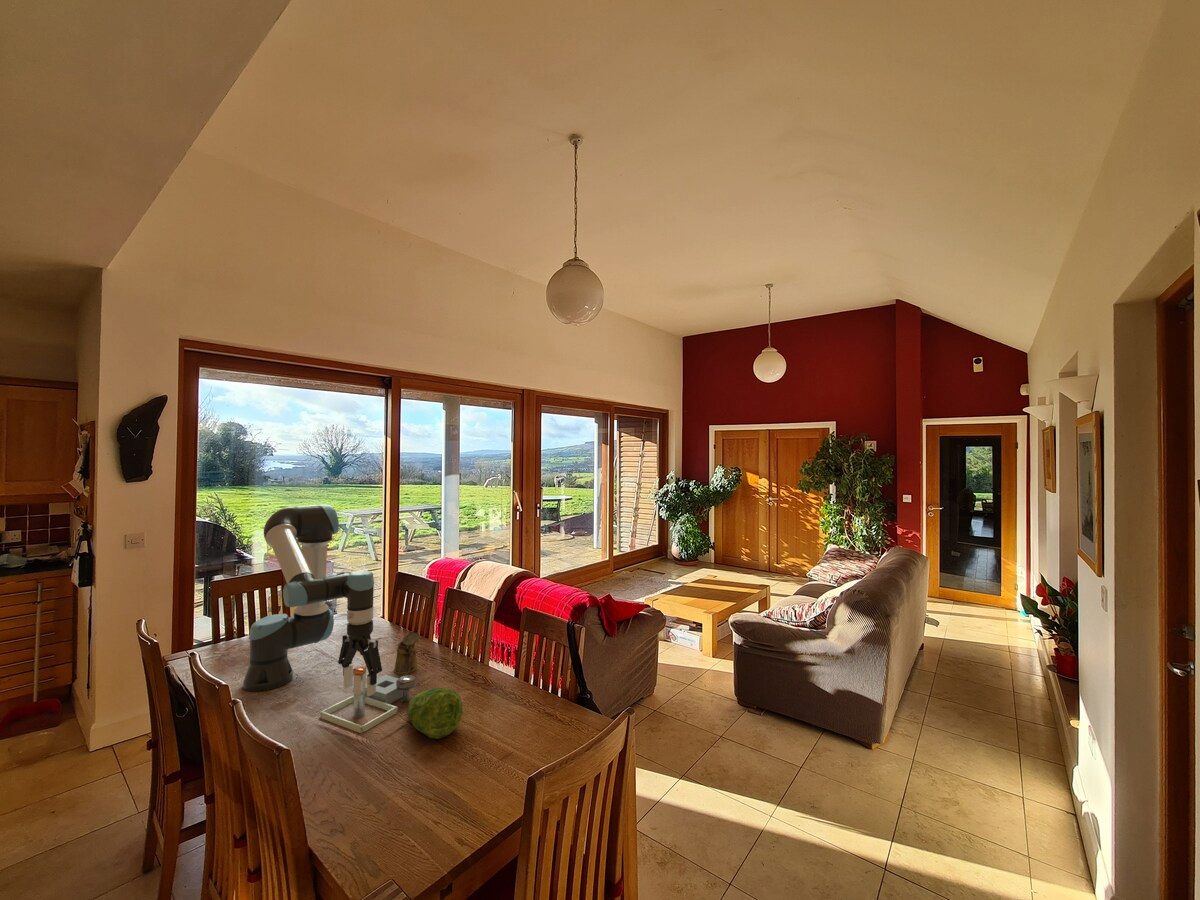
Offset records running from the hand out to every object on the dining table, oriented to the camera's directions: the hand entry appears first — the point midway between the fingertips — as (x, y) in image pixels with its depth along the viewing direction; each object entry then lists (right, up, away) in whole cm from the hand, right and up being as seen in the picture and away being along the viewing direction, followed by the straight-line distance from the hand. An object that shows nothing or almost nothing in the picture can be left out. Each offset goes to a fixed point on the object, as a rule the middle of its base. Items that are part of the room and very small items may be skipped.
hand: (359, 690), depth 157 cm
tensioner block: (+3, -9, +12) cm, 16 cm away
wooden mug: (+3, -9, +31) cm, 33 cm away
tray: (0, -9, 0) cm, 9 cm away
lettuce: (+24, -9, -4) cm, 26 cm away
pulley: (+11, -9, +9) cm, 17 cm away
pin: (0, -8, 0) cm, 8 cm away
